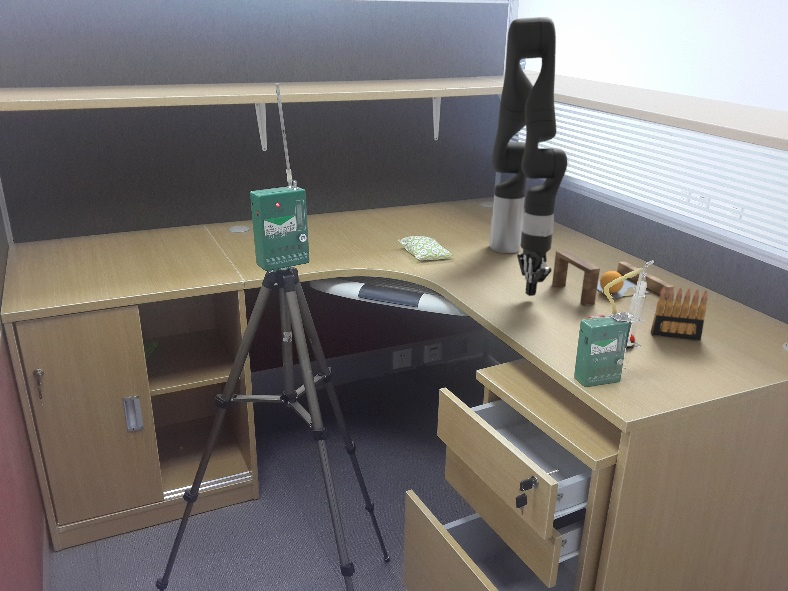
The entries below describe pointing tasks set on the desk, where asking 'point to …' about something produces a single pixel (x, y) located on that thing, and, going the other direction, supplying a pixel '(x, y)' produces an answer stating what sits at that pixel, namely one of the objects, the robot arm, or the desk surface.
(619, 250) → the desk surface
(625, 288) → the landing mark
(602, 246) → the desk surface
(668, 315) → the ammunition clip
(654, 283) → the stopper wall
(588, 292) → the bridge
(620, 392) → the desk surface
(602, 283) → the ball
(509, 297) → the desk surface
